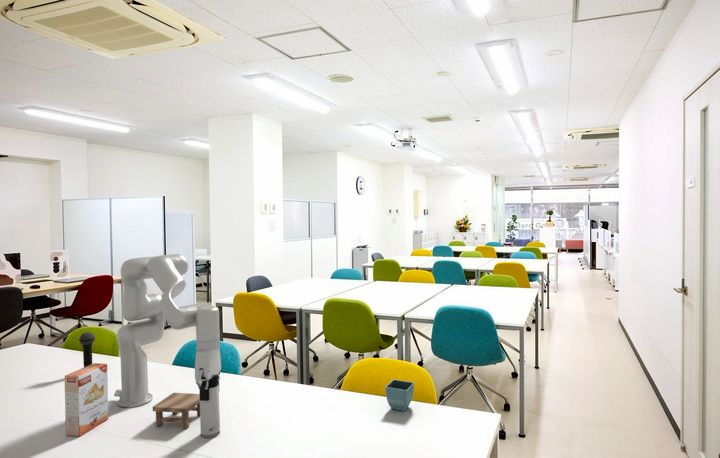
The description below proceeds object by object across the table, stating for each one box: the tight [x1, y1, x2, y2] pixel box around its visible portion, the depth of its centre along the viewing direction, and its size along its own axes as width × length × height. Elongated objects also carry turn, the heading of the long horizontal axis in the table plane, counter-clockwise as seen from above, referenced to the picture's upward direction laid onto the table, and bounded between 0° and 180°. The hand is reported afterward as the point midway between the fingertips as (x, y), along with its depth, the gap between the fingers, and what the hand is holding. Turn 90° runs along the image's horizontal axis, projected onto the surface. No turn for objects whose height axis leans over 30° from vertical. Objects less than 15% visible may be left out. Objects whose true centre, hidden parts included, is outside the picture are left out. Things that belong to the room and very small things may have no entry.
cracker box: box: [64, 362, 109, 437], centre depth 163 cm, size 14×6×21 cm, turn 170°
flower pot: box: [385, 379, 415, 412], centre depth 175 cm, size 9×9×9 cm
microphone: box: [78, 331, 96, 368], centre depth 219 cm, size 7×7×20 cm
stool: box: [152, 392, 200, 430], centre depth 167 cm, size 13×13×8 cm
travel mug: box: [198, 375, 221, 439], centre depth 156 cm, size 6×7×20 cm
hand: (209, 395), depth 156 cm, fingers closed on travel mug, 6 cm apart
